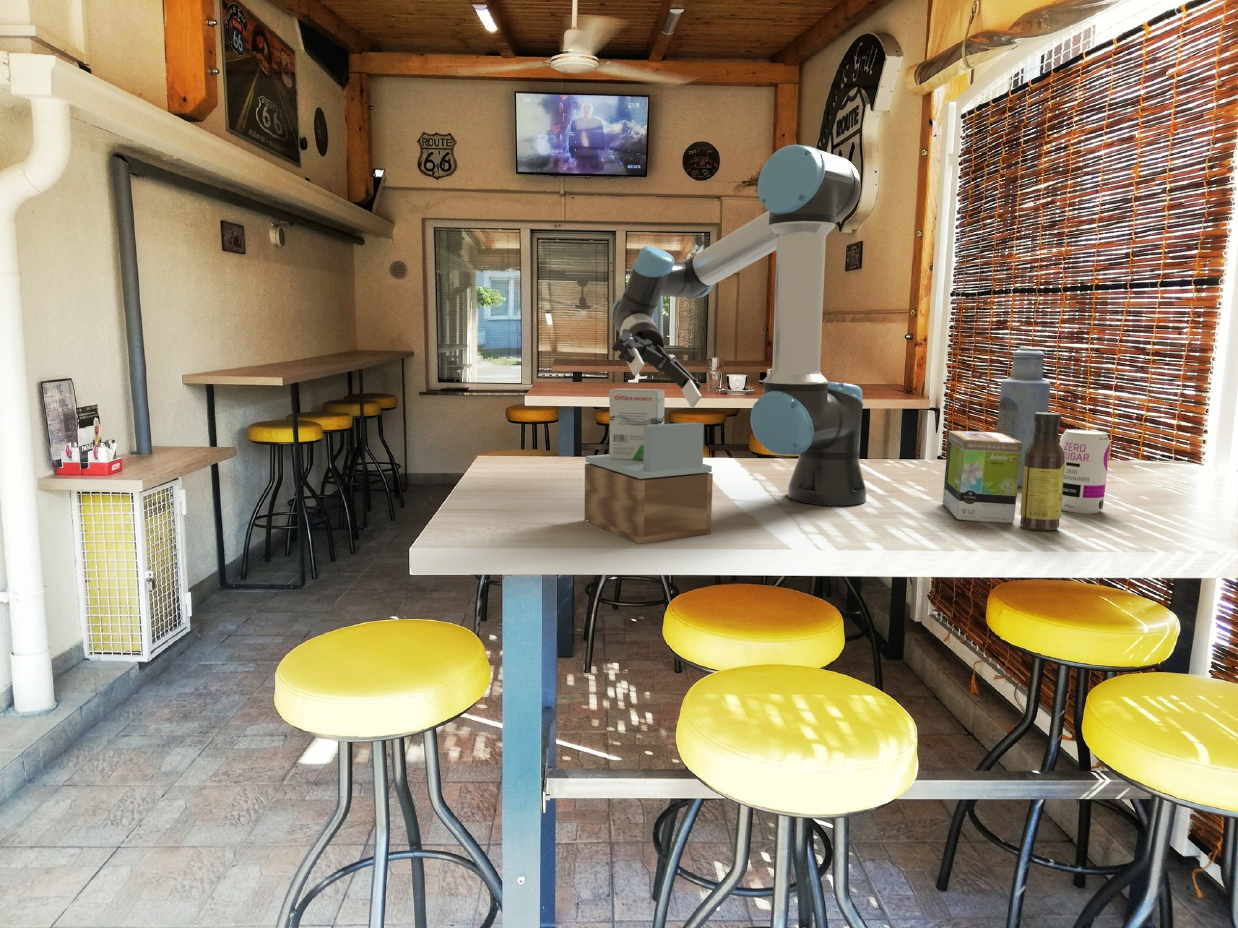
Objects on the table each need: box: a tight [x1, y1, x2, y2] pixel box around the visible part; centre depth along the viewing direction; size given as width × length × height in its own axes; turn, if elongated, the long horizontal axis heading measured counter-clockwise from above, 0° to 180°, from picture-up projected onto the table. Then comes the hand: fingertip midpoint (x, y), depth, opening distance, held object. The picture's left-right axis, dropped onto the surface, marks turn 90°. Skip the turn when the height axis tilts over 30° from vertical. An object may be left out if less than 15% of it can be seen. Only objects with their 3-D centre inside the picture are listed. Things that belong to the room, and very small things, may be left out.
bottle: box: [996, 346, 1051, 488], centre depth 182 cm, size 10×10×30 cm
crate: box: [584, 462, 714, 545], centre depth 140 cm, size 18×14×10 cm
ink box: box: [608, 388, 666, 460], centre depth 141 cm, size 9×5×12 cm, turn 71°
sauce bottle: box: [1019, 412, 1065, 531], centre depth 142 cm, size 6×6×20 cm
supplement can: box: [1059, 429, 1111, 515], centre depth 157 cm, size 8×8×15 cm
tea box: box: [942, 430, 1022, 524], centre depth 153 cm, size 15×10×15 cm
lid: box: [585, 421, 713, 479], centre depth 138 cm, size 18×14×8 cm
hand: (668, 385), depth 153 cm, fingers open, 13 cm apart
